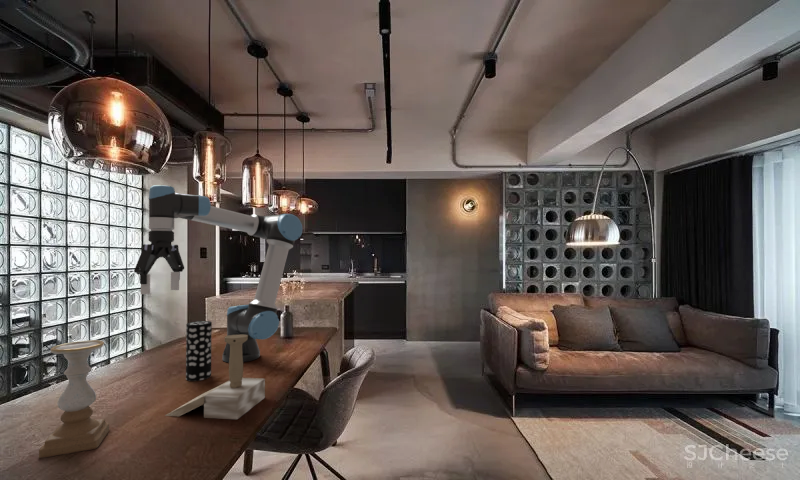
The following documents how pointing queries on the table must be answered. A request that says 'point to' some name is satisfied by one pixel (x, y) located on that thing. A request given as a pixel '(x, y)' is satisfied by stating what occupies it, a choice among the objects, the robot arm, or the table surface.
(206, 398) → the ramp bench
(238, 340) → the handle
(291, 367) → the table surface
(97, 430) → the candle holder
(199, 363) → the white-spotted black cylinder
